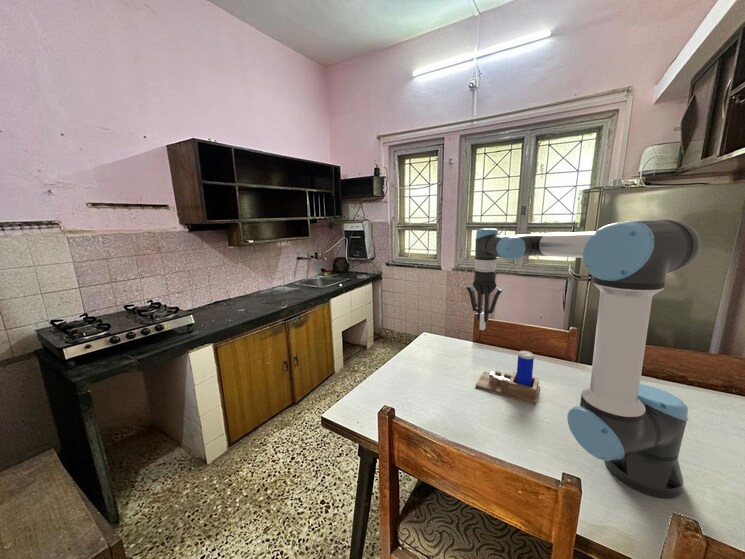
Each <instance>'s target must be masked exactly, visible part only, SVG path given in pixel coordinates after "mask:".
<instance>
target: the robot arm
mask: <svg viewBox="0 0 745 559" xmlns="http://www.w3.org/2000/svg"><path fill="white" fill-rule="evenodd" d="M475 234H476V236H475V244H474V245H475V247H474V248H475V249H474V250H475V252H474V253H475V254H474V273H473V274H474V278H473V279H474V280H473V283H472V285H468V286H467V287H466V290H467V292H468V294H469V298H470V303H471V309H472V311H474V312H476V313H477V317H476V318H477V319H476V320H477V321H478V322H479V328H478V329H479V331H484V330H485V329H486V323H487V322H488V321H489V315H490V314H493V313H494V311H495V310H496V309H495V308H496V306H497V303H498V299H499V298H500V295H501V294H502V293H503V289H502V288H499V287H498V286H497V282H496V277H497V273H496V269H497V258H500V259H505V260H513V261H514V260H518V259H520V258H522V257H523V258H524V257H534V256H536V257H537V256H538V257H540V256H541V257H559V258H560V257H561V258H578V259H582V262H583V265H584V267H586V268H587V270H586V271H587V272H588V273H589V274H590V275H591V276H593V277H592V284H593V285H594V286H595V287H596V289H598V290H599V302H598V311H597V318H596V320H597V321H596V328H595V336H594V348H593V356H592V365H591V375H590V385H588V386H585V387H584V388H582V390H581V394H580V402H579V406H578V405H577V406H575V407H572V408H571V409H570V410H569V411H568V412H567V424H568V427H569V430H570V432H571V434H572V436H573V437H574V440H576V443H578V444H579V446H580V447H581V448H582V449H584V451H586V452H587V453H588V454H589V455H591V456H592V457H594V458H596V459H599V460H601V461H604V464H605V466H606V467H607V469H608V470H609V471H610V472H611V473H612V474H613V476H615V477H616V478H617V479H618V480H619V481H621V482H622V483H624V484H626V485H627V486H629V487H631V488H632V489H634V490H636V491H638V492H640V493H643V494H645V495H648V496H651V497H654V498H659V499H674V498H677V497H679V496H680V495H682V492H683V488H684V478H683V474H682V470H681V466H680V462H679V455H680V451H681V446H682V443H683V439H684V433H685V431H686V430H685V428H686V425H687V422H688V419H689V418H688V414H689V409H688V406H687V404H686V403H685V402H684V401H683V400H682V399H680V397H677V396H676V395H674V394H672V393H670V392H667V391H665V390H663V389H661V388H657V387H655V386H651V385H648V384H643V383H641V378H642V371H643V365H644V364H643V362H644V357H645V350H646V344H647V342H646V341H647V336H648V330H649V329H648V328H649V324H650V323H649V322H650V314H651V309H652V302H653V297H654V295H656V294H658V293H659V292H661V291H664V289H665V285H666V284H665V283H666V279H667V274H669V273H674V272H677V271H680V270H683V269H685V268H686V267H689V265H690V264H692V263H693V262H694V261H695V260H696V258H697V257H698V256H699V254H700V251H701V248H702V240H701V238H700V234H698V232H697V231H696V230H695V228H693V227H692V226H691V225H689V224H687V223H685V222H682V221H679V220H676V219H656V220H652V219H651V220H628V221H620V222H614V223H610V224H607V225H603V226H602V227H600V228H598V229H597V230H596V231H576V232H575V231H574V232H573V231H572V232H552V233H551V232H550V233H548V232H547V233H546V232H542V233H541V232H539V233H531V234H530V233H529V234H512V235H502V234H499V229H497V228H479V229H477V230H476V233H475ZM474 290H475V291H476V292H477V299H476V294H475V291H474ZM492 292H494V296H493V297H492V298H493V299H492V302H491V305H490V300H491V299H490V298H491V294H492ZM483 300H484V303H483ZM483 305H484V306H483ZM483 308H484V309H483Z"/></svg>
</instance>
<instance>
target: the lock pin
mask: <svg viewBox="0 0 745 559" xmlns="http://www.w3.org/2000/svg"><path fill="white" fill-rule="evenodd" d="M489 373H490V374H489V382H491V383H492V377H493V376H495V377H498V384H499V385H501V380H502V379H506V380H510V379H509V378H505V377H504V376H503V375H501V376H498V375H494V374H495V371H490V372H489ZM502 376H503V377H502Z"/></svg>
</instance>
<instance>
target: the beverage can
mask: <svg viewBox="0 0 745 559" xmlns="http://www.w3.org/2000/svg"><path fill="white" fill-rule="evenodd" d="M517 354H518V355H517V364H516V365H517V367H516V373H517V377H516V383H518V384H522V385H526V386H529V387H531V384H532V377H533V372H534V371H533V370H534V359H535V357H534V353H532V352H531V351H529V350H520V351H519V352H518V353H517Z"/></svg>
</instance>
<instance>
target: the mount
mask: <svg viewBox="0 0 745 559" xmlns="http://www.w3.org/2000/svg"><path fill="white" fill-rule="evenodd" d="M489 374H490V372H487V371H483V372H482V374H481V376H480V377H479V379H478V380H477V382H476V384H475V388H477V389H479V390H480V389H481V390H483V391H488V392H490V393H493V394H496V395H501V396H504V397H507V398H510V399H514V400H517V401H521V402H524V403H526V404H530V405H534V406H536V405H537V402H538V397H539V393H540V390H541V386H540V385H539V384H540V378H539V377H537V376H532V384H531V387H529V386H526V385H522V384H518V383H516V377H517V371H513V372H512V373H511V374H510V373H506V372H504V373H503V375H502V371H499V370H495V371H494V375H498V376H502V377H505V378H509V379H510V380H506V379H502V380H501V385H499V384H498V377H495V376H493V377H492V383H491V382H489Z"/></svg>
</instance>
